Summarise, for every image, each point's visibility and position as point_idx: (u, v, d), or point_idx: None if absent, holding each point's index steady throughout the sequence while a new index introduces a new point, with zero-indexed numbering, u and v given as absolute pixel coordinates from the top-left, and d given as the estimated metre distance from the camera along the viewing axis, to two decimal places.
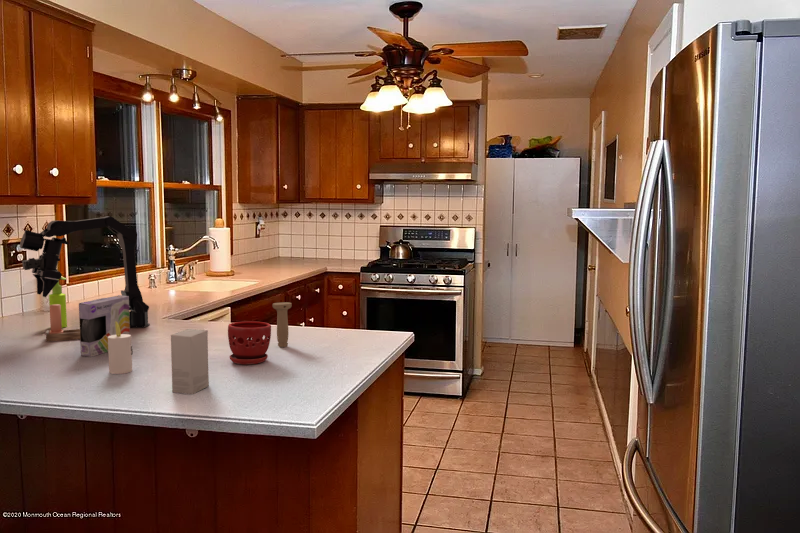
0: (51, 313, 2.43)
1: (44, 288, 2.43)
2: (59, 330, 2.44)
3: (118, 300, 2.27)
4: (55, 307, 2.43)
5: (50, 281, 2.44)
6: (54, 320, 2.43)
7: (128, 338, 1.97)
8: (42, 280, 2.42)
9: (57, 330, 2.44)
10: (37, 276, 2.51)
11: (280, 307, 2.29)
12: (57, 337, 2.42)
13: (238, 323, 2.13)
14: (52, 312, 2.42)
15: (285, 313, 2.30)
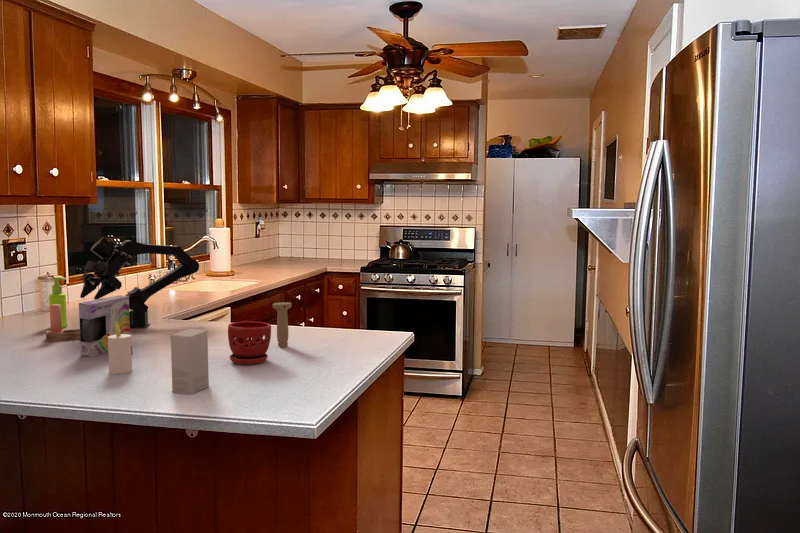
0: (51, 313, 2.43)
1: (100, 291, 2.53)
2: (59, 330, 2.44)
3: (118, 300, 2.27)
4: (55, 307, 2.43)
5: (107, 288, 2.55)
6: (54, 320, 2.43)
7: (128, 338, 1.97)
8: (102, 284, 2.53)
9: (57, 330, 2.44)
10: (87, 281, 2.60)
11: (280, 307, 2.29)
12: (57, 337, 2.42)
13: (238, 323, 2.13)
14: (52, 312, 2.42)
15: (285, 313, 2.30)
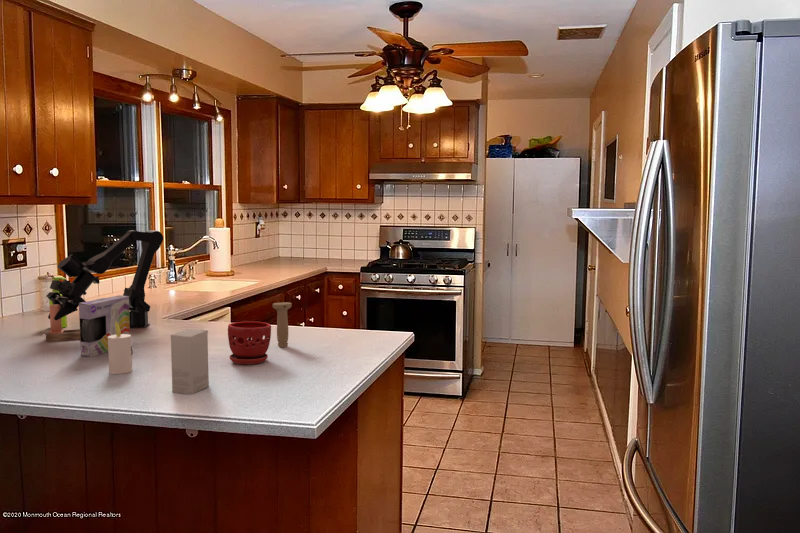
0: (51, 313, 2.43)
1: (60, 311, 2.43)
2: (59, 330, 2.44)
3: (118, 300, 2.27)
4: (55, 307, 2.43)
5: (68, 307, 2.45)
6: (54, 320, 2.43)
7: (128, 338, 1.97)
8: (63, 303, 2.43)
9: (57, 330, 2.44)
10: (56, 301, 2.47)
11: (280, 307, 2.29)
12: (57, 337, 2.42)
13: (238, 323, 2.13)
14: (52, 312, 2.42)
15: (285, 313, 2.30)
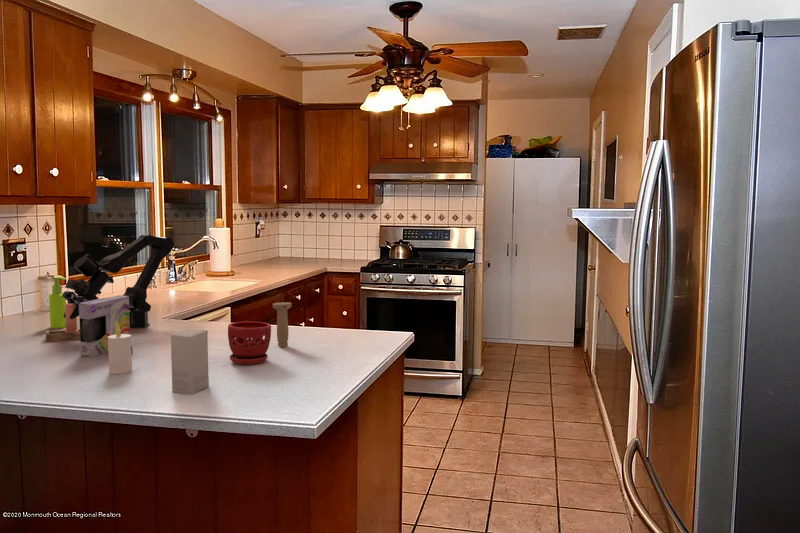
0: (67, 312, 2.45)
1: (76, 310, 2.45)
2: (74, 329, 2.46)
3: (118, 300, 2.27)
4: (70, 306, 2.45)
5: None
6: (70, 319, 2.45)
7: (128, 338, 1.97)
8: (78, 302, 2.46)
9: (72, 329, 2.46)
10: (71, 300, 2.49)
11: (280, 307, 2.29)
12: (57, 337, 2.42)
13: (238, 323, 2.13)
14: (68, 311, 2.45)
15: (285, 313, 2.30)
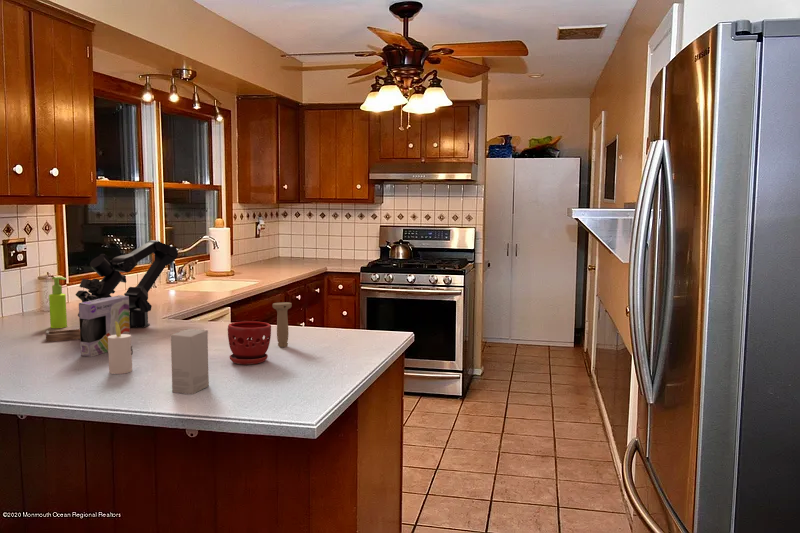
0: None
1: None
2: None
3: (118, 300, 2.27)
4: None
5: None
6: None
7: (128, 338, 1.97)
8: None
9: None
10: (85, 300, 2.51)
11: (280, 307, 2.29)
12: (57, 337, 2.42)
13: (238, 323, 2.13)
14: None
15: (285, 313, 2.30)
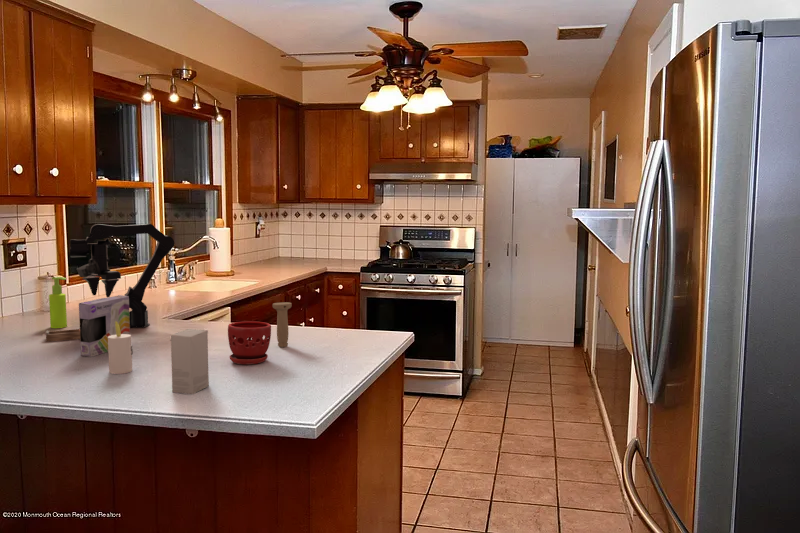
0: None
1: (107, 289, 2.59)
2: None
3: (118, 300, 2.27)
4: None
5: (110, 282, 2.60)
6: None
7: (128, 338, 1.97)
8: (104, 283, 2.58)
9: None
10: (89, 279, 2.64)
11: (280, 307, 2.29)
12: (57, 337, 2.42)
13: (238, 323, 2.13)
14: None
15: (285, 313, 2.30)
